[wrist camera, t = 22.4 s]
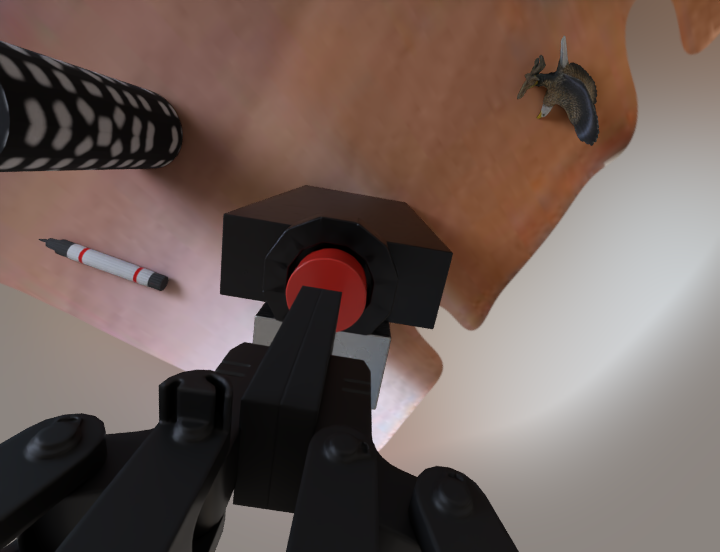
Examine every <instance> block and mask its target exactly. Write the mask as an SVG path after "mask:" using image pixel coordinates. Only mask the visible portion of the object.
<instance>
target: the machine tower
mask: <svg viewBox="0 0 720 552" xmlns="http://www.w3.org/2000/svg"><path fill="white" fill-rule="evenodd" d="M323 248H335V249H340V250H343V251H345V252H347V253H349V254H351V255H352V256H353V257H354V258H356V259H357V260H358V262H359V263H360V264H361V266H362V267H363V269H364V272H365V275H366V280H367V299H366V305H365V309H364V311H363V313H362V315H361V317H360V318H359V319H358V320H357V321H356V322H355V323H354V324H353V325H352V326H350V327H349V328H347V329H345V330H343V331H341V332H347V333H353V334H359V335H366V336H367V335H371V334H372V333H373V332H374V331H375V329H376V328H377V327H378V326H379V325H380V324H381V323H382V322H383V321H386V322H392V323H398V324H404V325H410V326H416V327H422V328H428V329H433V328H434V324H435V321H436V317H437V313H438V309H439V305H440V302H441V298H442V294H443V290H444V286H445V282H446V278H447V275H448V271H449V267H450V263H451V259H452V255H453V253H452V252H451V250H450V249H449V248H448V247H447V246H446V245H445V244H444V243H443V242H442V241H441V240H440V239H439V238H438V237H437V235H436V234H435V233H434V232H433V231H432V230H431V229H430V228H429V227H428V226H427V225H426V224H425V223H424V222H423V221H422V219H421V218H420V217H419V216H418V215H417V214H416V213H415V212H414V211H413V210H412V209H411V208H410V207H409V206H408V205H407V203H405V202H400V201H394V200H388V199H382V198H377V197H371V196H365V195H360V194H354V193H348V192H342V191H337V190H331V189H325V188H319V187H314V186H308V185H305V186H302V187H299V188H296V189H293V190H290V191H288V192H285V193H282V194H279V195H276V196H273V197H270V198H268V199H265V200H262V201H259V202H256V203H253V204H250V205H248V206H245V207H242V208H239V209H236V210H233V211H230V212H228V213H225V214H224V216H223V238H222V260H221V281H220V294H221V295H227V296H233V297H239V298H245V299H252V300H258V301H264V302H267V303H268V305H269V307H270V309H271V311H272V313H273V315H274V317H275V319H276V321H279V322H283V320H284V319H285V317H286V315H287V313H288V311H289V308H288V305H287V301H286V287H287V283H288V280H289V278H290V276H291V275H292V273H293V272H294V270H295V269H296V268H297V266H298V265H299V263H300V262H301V260H302V259H303V258H304V257H305V256H307V255H308V254H310V253H311V252H313V251H316V250H319V249H323Z"/></svg>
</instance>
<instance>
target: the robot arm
mask: <svg viewBox="0 0 720 552" xmlns="http://www.w3.org/2000/svg"><path fill="white" fill-rule="evenodd" d="M341 297H342V292H339V291H333V290H327V289H321V288H315V287H309V286H303V285H302V287H301V289H300V291H299V293H298V295H297V296H296V298H295V300H294V302H293V304H292V306H291V308H290V309H289V311H288V313H287V315H286V317H285V319H284V320H283V322H282V324H281V326H280V328H279V330H278V332H277V333H276V335H275V337H274V339H273V341H272V343H271V344H270V346H265V345H259V344H253V343H246V342H244V343H242V344H240V345H238V346H237V347H235V348H233V349H231V350H230V351H229V353H228V354H227V355H226V357H225V358H224V359H223V361H222V363H220V365H219V366H218V367H217V369H216V371H211V370H193V371H187V372H182V373H179V374H177V375H174V376H172V377H169V378H168V379H167V380H165V381H164V382H163V383H161V384H160V385H159V423H158V424H157V426H156V427H155V428H153V429H150V430H144V431H137V432H127V433H116V434H106V431H105V427H104V423H103V422H102V421H101V420H99V419H98V418H97V417H96V416H92V415H87V414H82V413H81V414H67V415H62V416H58V417H54V418H50V419H47V420H44V421H42V422H40V423H38V424H35V425H33V426H31V427H29V428H27V429H25V430H23V431H22V432H20V433H18V434H17V435H15V436H13V437H11V438H10V439H8V440H6V441H5V442H3V443H1V444H0V552H215V550H216V547H217V545H218V542H219V539H220V537H221V534H222V532H223V527H224V522H225V512H226V507H227V504H228V502H229V500H230V497H231V495H232V492H233V490H234V497H233V504H235V505H242V506H248V507H255V508H262V509H269V510H276V511H283V512H289V513H294V517H293V521H292V526H291V531H290V536H289V540H288V545H287V550H286V552H519V551H518V550H517V548H516V546H515V544H514V543H513V541H512V539H511V538H510V536H509V534H508V533H507V531H506V529H505V527H504V526H503V524H502V522H501V521H500V519H499V517H498V516H497V514H496V512H495V511H494V509H493V507H492V505H491V504H490V502H489V500H488V499H487V497H486V495H485V494H484V493H483V492H482V490H481V489H480V488H479V486H478V485H477V484H476V483H475V482H474V481H473V480H471V479H470V478H469V477H467V476H466V475H465V474H463V473H461V472H459V471H456V470H454V469H452V468H448V467H440V466H435V467H431V468H427V469H425V470H424V471H423V472H422V473H421V474H420V475H419V476H418V477H416V476H414V475H411V474H409V473H407V472H404V471H402V470H400V469H398V468H397V467H395V466H393V465H391V464H390V463H389V462H387V461H386V460H385V459H384V458H382V456H381V455H380V454H379V453H378V451H377V450H376V448H375V445H374V443H373V440H372V422H371V371H370V369H369V367H368V366H367V364H366V363H365V361H364V360H360V359H354V358H348V357H342V356H335V355H332V352H333V346H334V340H335V334H336V328H337V321H338V315H339V309H340V303H341ZM15 538H17V539H16V540H15V541H13V540H14V539H15ZM11 541H13V542H12V543H11V544H9V543H10V542H11ZM7 544H9V545H8V546H6V545H7ZM5 546H6V547H5Z"/></svg>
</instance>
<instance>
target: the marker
mask: <svg viewBox="0 0 720 552" xmlns="http://www.w3.org/2000/svg"><path fill="white" fill-rule="evenodd" d="M39 240H40V241H43V242H46V246H47V247H48V248H51V249H53V250H55V253H57V254H59V255H62V256H65V257H67V258H69V259H72V260H75V261H77V262H80V263H83V264H86V265H89V266H91V267H94V268H97V269H100V270H103V271H105V272H108V273H111V274H114V275H116V276H119V277H122V278H125V279H128V280H130V281H133V282H136V283H139V284H142V285H144V286H147V287H151V288H154V289H156V290H159V291H162V290H164V289H165V287H166V286H167V283H168V277H166V276H164V275H161V274H158V273H156V272H153V271H151V270H148V269H145V268H142V267H140V266H137V265H134V264H131V263H129V262H126V261H123V260H120V259H118V258H115V257H112V256H109V255H107V254H104V253H101V252H98V251H96V250H93V249H90V248H87V247H85V246H82V245H79V244H75V243H73V242H70V241H67V240H57V239H53V238H50V239H48V240H47V239H39Z"/></svg>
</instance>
